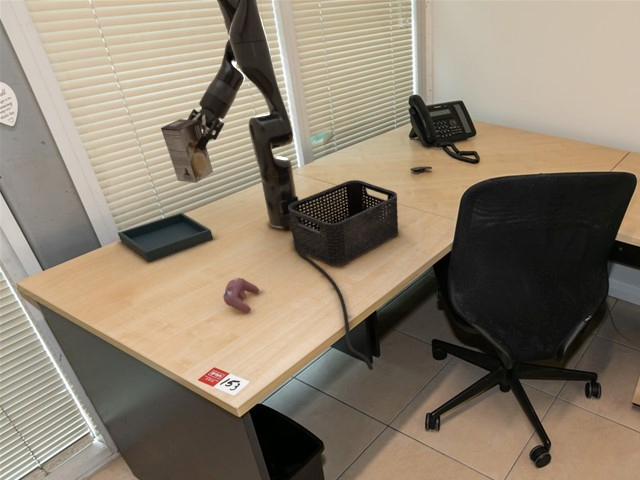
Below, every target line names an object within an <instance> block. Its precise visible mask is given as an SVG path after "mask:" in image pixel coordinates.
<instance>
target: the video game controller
mask: <svg viewBox="0 0 640 480" xmlns="http://www.w3.org/2000/svg"><path fill="white" fill-rule="evenodd" d="M247 292H248V293H250V294H259V293H260V288H259V287H258V286H257V285H256V284H254V283H251V282H249V281H248V280H246V279H244V278H242V277H236V278H233V279H231V280H230V281H228V283H227V285H226V287H225V291H224V293H223V297H222V298H223V301H224V302H225V304H226V305H227V306H228V307H231V308H233V309H235V310H236V311H238V312H241V313H246V314H248V313H249V314H250V312H251V311H252V309H251V307H250V306H249V304H247V303H245V302H244V301H243V300H246V299H247Z"/></svg>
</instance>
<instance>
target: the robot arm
mask: <svg viewBox="0 0 640 480" xmlns="http://www.w3.org/2000/svg"><path fill="white" fill-rule="evenodd" d="M215 1H216V3H217V5H218V7H219V10H220V14H221V16H222V20H223V23H224V26H225V27H224V28H225V30H226V32H227V35H228V37H229V38H228V39H227V40H226V43H225V47H224V53H223V57H222V61H221V64H220V68H218V71H217V73H215V76H214V78H213V79H212V81H211V82H210V83H209V85H208V86H207V88H206V90H205V91H204V93H203V95H202V97H201V99H200V101H199V103H198V105H199V106H200V107H201V109H200V110H199V111H198V110H197V109H196V108H193V109H192V111H191V113H190V114H189V116H188V117H187V119H186V120H197V121H199V123H200V127H201V130H202V134H203V136H201V138H200V140H199V141H198V143H197V145H196V147H197V148H198V149H200V150H202V151H203V150H204V149H205V147H206V148H207V146H208V143H209V142H210V141H212V140H213V141H216V140H217V138H218V136H219V135H220V133H221V131H222V129H223V127H224V126H225V122H224V121H223V120H224V119H225V118H226V116H227V114H228V112H229V111H230V108H231V107H232V106H233V103H234V101H235V100H236V97H237V94H238V93H239V91H240V89H241V87H242V85H243V84H244V82H245V77H246V78H247V80H249V81H250V82H251V83H252V85H254V86H255V88H256V89H257V90H258V91H259V93H260V94H261V95H262V97H263V99H264V101H265V103H266V106H267V109H268V111H269V113H267V114H260V115H257V116H252V117H251V118H249V121H248V132H249V137H250V141H251V144H252V149H253V153H254V157H255V161H256V164H257V166H258V170H259V174H260V175H259V176H260V179H261V180H260V181H261V186H262V189H263V196H264V201H265V205H266V211H267V216H268V219H269V220H268V223H269V226H270V227H271V228H273V229H275V230H284V231H289V230H290V232H291V233H292V228H291V227H292V226H291V221H290V220H291V219H290V215H289V214H290V213H289V209H288V206H289V205H290V204H291V203H294V202H296V201H299V200H300V199H299V196H297V192H296V184H295V177H294V171H293V164H292V162H291V160H290V159H289V158H287V157H284V156H281V155H274V153H273V150H274V149H279V148H282V147H286V146H290V145H291V144H292V143H293V141H294V132H293V131H294V130H293V126H292V123H291V119H290V116H289V114H288V111H287V107H286V105H285V102H284V99H283V96H282V93H281V90H280V86H279V82H278V79H277V75H276V71H275V67H274V62H273V59H272V53H271V50H270V46H269V42H268V38H267V34H266V31H265V28H264V25H263V20H262V17H261V14H260V10H259V6H258V2H257V0H215ZM236 66H237V67H238V68H237V67H236ZM297 211H298V210H297ZM298 218H299V217H298ZM294 250H295V252H296V254H297V255H298V256H300V258H302V259H303V260H305V261H306V262H307V263H309V264H311V266H313V267H314V268H315V269H317V270H318V271H319V272H320V273H321V274H322V275H323V276H324V277H325V278H326V279H327V280H328V282H329V283H330V284H331V285H332V286H333V289H334V290H335V291H336V293H337V296H338V298H339V301H340V305H341V309H342V314H343V320H344V328H345V330H344V331H345V334H344V335H345V343H346V346H347V348H348V350H349V352H350V353H352V354H353V355H354V356H357V357H358V358H360V359H362V360H363V361H364V362H365V364H366V365H367V368H368V370H370V371H372V370H374V366H373V364H372V363H371V361H370V359H369V358H368V357H367V356H366V355H364V354H363V353H361V352H359V351H357V350H355V348H354V347H353V346H352V344H351V340H350V325H349V324H350V323H349V317H348V311H347V306H346V302H345V299H344V297H343V294H342V292H341V291H340V288H339V286H338V285H337V283H336V282H335V281H334V279H333V278H332V277H331V276H330V275H329V274H328V273H327V272H326V270H324V269H323V268H322V267H321V266H319V264H317V263H316V262H315V261H313V260H312V259H311V258H309V256H307V255H306V254H304V253H302V252H300V251H299V250H297V249H295V248H294Z"/></svg>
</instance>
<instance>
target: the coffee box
mask: <svg viewBox="0 0 640 480" xmlns="http://www.w3.org/2000/svg"><path fill="white" fill-rule="evenodd" d="M160 129H161V133H162V136H163V140H164V142H165V145H166V148H167V151H168V155H169V157H170V160H171V163H172V167H173V169H174V172H175V173H174V174H175V176H176V180H177V182H183V183H194V184H198V183H199V182H200V181H202V180H203V179H204V178H206V177H208V176H209V175H211V174H213V173H214V170H213V169H214V168H213V167H212V166H213V165H212V162H211V159H210V156H209V152H208V148H207V146H206V147H205V149H204V150H203V151H202V150H200V149H198V148H197V147H196V145H197V143H198V141H199V140H200V138H201V136H203V129H202V130H201V127H200V123H199V121H197V120H187V119H183V118H179V119H177V120H175V121H172V122H170V123H168V124H166V125H163V126H162V127H160Z"/></svg>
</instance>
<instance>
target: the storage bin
mask: <svg viewBox="0 0 640 480" xmlns="http://www.w3.org/2000/svg"><path fill="white" fill-rule="evenodd" d="M368 190H370V191H373V192H376V193H379V194H382V195H385V196H387V199H383V198H380V197H377V196H374V195H372V194H369V193H368ZM298 200H299V201H296V202H294V203H291V204H290V205H289V206H288V209H289V213H290V214H289V215H290V219H291V220H290V221H291V226H292V227H291V228H292V232H291V234H292V239H293V247H294V250H295V249H297V250H299V251H300V252H301V253H302V254H303V255H305V256H307V257H310V258H313V259H316V260H317V261H320V262H323V263H325V264H326V265H330V266H335V267H337V266H342V265H343V266H344V265H346V264H348V263H350V262H352V261H354V260H355V259H357V258H358V257H361V256H363V255H364V254H366V253H368V252H369V251H371V250H373V249H375V248H377V247H378V246H381V245H382V244H384V243H386V242H388V241H389V240H391V239H393V238H395V237H397V236H398V235H399V222H398V220H399V216H398V193H397V192H395V191H393V190H391V189H387V188H384V187H381V186H377V185H375V184H371V183H369V182H366V181H363V180H358V179H351V180H348V181H345V182H342V183H340V184H339V183H338V184H337V185H335V186H332V187H330V188H327V189H324V190H322V191H319V192H317V193H313V194H312V195H309V196H307V197H304V198H301V199H298ZM297 210H298V211H297ZM298 217H299V218H298Z"/></svg>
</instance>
